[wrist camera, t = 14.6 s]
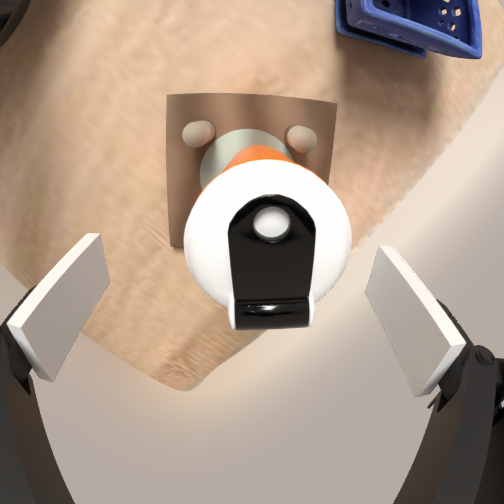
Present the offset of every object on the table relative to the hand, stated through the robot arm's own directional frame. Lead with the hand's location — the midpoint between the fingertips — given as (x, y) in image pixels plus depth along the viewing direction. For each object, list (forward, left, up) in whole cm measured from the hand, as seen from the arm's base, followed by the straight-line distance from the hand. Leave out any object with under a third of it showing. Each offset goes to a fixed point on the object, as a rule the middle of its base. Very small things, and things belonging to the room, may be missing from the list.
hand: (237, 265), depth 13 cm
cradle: (0, 0, -21) cm, 21 cm away
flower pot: (+14, +23, -21) cm, 34 cm away
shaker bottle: (+2, 0, -20) cm, 20 cm away
